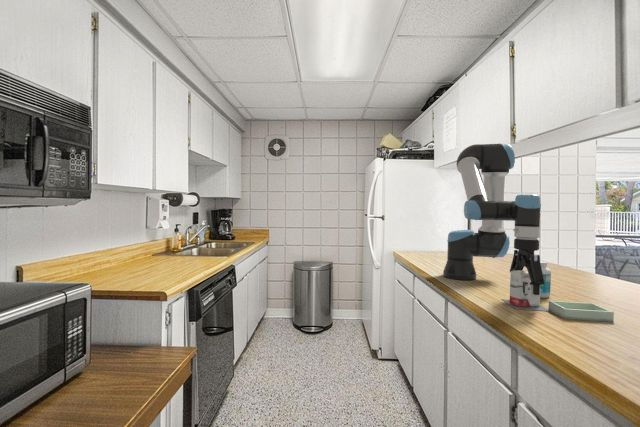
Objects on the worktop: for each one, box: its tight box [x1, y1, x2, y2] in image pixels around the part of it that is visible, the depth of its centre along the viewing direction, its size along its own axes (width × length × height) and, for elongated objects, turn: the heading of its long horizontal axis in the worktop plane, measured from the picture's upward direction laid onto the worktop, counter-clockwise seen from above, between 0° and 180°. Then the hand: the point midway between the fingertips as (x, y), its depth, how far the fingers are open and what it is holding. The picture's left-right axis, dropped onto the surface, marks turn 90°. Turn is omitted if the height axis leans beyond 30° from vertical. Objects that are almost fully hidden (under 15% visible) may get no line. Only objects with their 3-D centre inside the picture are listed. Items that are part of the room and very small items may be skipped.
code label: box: [501, 298, 551, 312], centre depth 115 cm, size 12×11×1 cm
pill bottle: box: [540, 260, 552, 299], centre depth 128 cm, size 8×7×14 cm
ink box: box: [509, 269, 541, 307], centre depth 115 cm, size 9×5×12 cm, turn 102°
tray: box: [548, 300, 615, 323], centre depth 104 cm, size 9×13×3 cm
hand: (524, 298), depth 115 cm, fingers open, 13 cm apart
